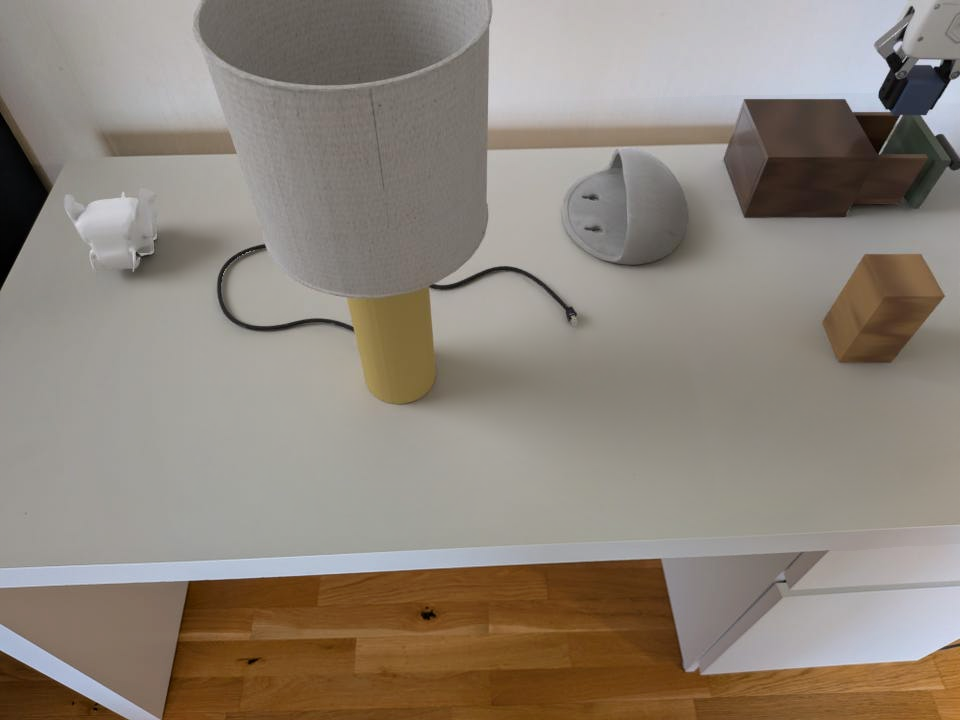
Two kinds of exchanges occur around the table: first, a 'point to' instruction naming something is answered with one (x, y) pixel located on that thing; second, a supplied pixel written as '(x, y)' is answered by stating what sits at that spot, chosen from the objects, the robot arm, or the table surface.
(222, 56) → the table lamp
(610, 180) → the planter
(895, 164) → the drawer
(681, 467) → the table surface
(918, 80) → the block
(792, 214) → the cabinet
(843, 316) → the stand
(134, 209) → the elephant figurine
